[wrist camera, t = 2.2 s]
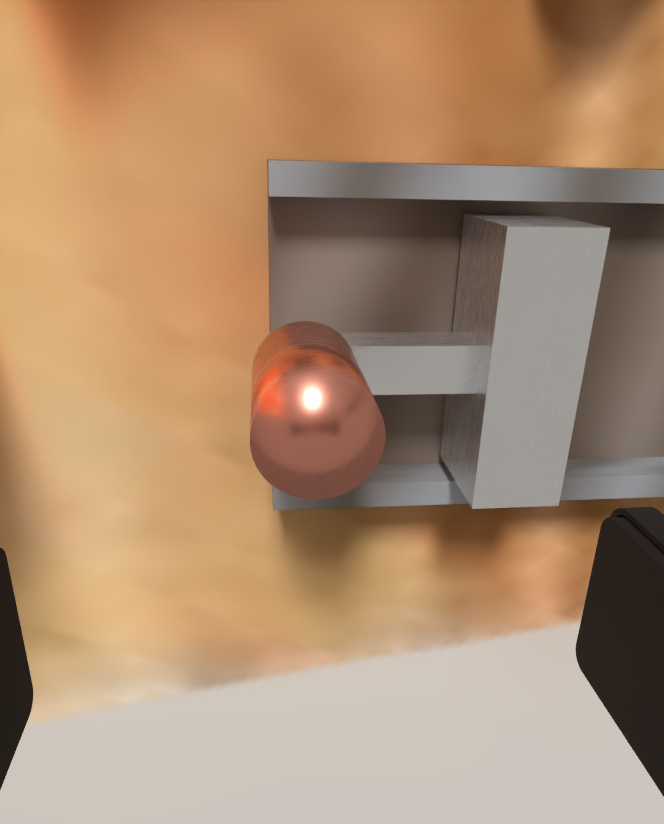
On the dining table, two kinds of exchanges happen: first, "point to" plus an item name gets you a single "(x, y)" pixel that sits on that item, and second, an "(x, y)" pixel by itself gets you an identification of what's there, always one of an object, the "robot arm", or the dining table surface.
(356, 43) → the dining table surface
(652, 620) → the robot arm
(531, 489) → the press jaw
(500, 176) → the nut press
